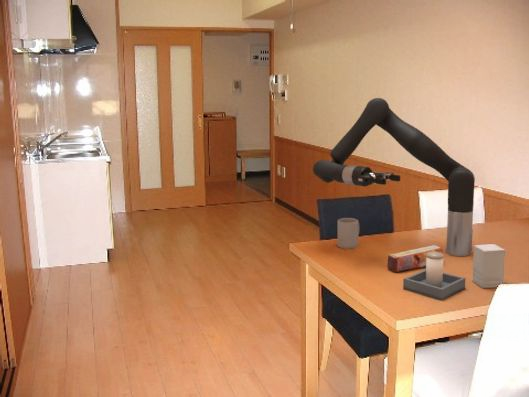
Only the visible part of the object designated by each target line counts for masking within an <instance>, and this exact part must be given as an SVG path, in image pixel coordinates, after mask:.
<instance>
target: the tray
mask: <svg viewBox="0 0 529 397" xmlns="http://www.w3.org/2000/svg"><path fill="white" fill-rule="evenodd" d="M402 281H403V285H402V288H403V290H405V291H410V292H411V293H417V294H420V295H423V296H427V297H429V298H432V299H436V300H438V301H439V300H440V301H443V300H445V299H447V298H449V297H451V296H453V295H455V294H457V293H459V292H462V291H463V290H465V289H466V277H462V276H458V275H454V274H450V273H446V272H443V281H442V288H439V287H436V286H432V285H429V284H426V268H425V269H423V270H421V271H418V272H416V273H414V274H411V275H409V276H407V277H404V278H403V280H402Z"/></svg>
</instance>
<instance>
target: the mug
mask: <svg viewBox="0 0 529 397" xmlns="http://www.w3.org/2000/svg"><path fill="white" fill-rule="evenodd" d="M359 234H360V222H359V220H358V219H356V218H353V217H342V218H339V219H338V220H337V240H336V241H337V244H336V245H337V246H338V248H340V249H346V250H347V249H348V250H350V248H352V249H356V248H358V247H359ZM357 246H358V247H357ZM355 247H356V248H355Z"/></svg>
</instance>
